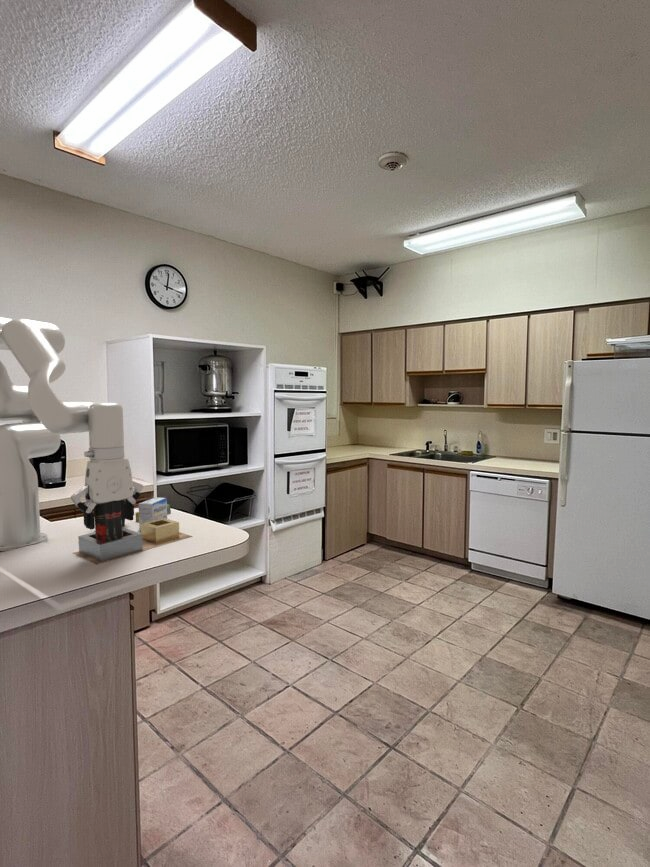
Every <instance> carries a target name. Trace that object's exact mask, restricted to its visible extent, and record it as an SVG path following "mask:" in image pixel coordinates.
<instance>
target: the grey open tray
mask: <svg viewBox="0 0 650 867" xmlns="http://www.w3.org/2000/svg"><path fill="white" fill-rule="evenodd" d="M122 532H123V537H121V538H117V539H113V540H109V541H105V542H102V541H99V540H97V539H96V532H91V533H86V534H83V535H78V551H79V552H80V553H82V554H84V555H86V556H89V557H91V558H93V559H95V560H97V561H100V562H102V561H106V560H109V559H113V558H116V557H120V556H123V555H126V554H130V553H133V552H137V551H140V550H143V541H142V534H141V532H138V531H135V530H131V529H129V528H126V527H124V526H123V527H122Z"/></svg>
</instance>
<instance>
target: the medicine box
mask: <svg viewBox="0 0 650 867" xmlns="http://www.w3.org/2000/svg"><path fill="white" fill-rule="evenodd" d="M167 504H168V498H166V497H152V498H149V499H148V500H147V499H146V500H145V501H143V502H139V503H138V505H137V506H138V512H139V522H138V525H139V530H140V531H141V523H145V522H149V521H153V520H157V519H161V518H166V519H168V514H167Z"/></svg>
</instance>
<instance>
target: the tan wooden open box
mask: <svg viewBox="0 0 650 867" xmlns="http://www.w3.org/2000/svg"><path fill="white" fill-rule="evenodd" d="M179 532H180V522H179V521H177V520H172V519H169V518H167V519H166V518H161V519H157V520H153V521H149V522H145V523H141V530H140V533H141V534H142V539H145V540H148V541H150V542H153V543H159V542H163V541H166V540H170V539H173V538H177V537H179Z"/></svg>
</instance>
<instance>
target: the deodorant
mask: <svg viewBox="0 0 650 867" xmlns="http://www.w3.org/2000/svg"><path fill="white" fill-rule="evenodd" d="M113 493H115V492H113ZM93 511H94V512H93V513H94V521H95V528H94V530H95V532H96V539H97V540H99V541H102V542H105V541H109V540H113V539H117V538H121V537H123V532H122V517H121V501H111V502H108V503H104V504H96V506H95V507H94V509H93Z"/></svg>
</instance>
